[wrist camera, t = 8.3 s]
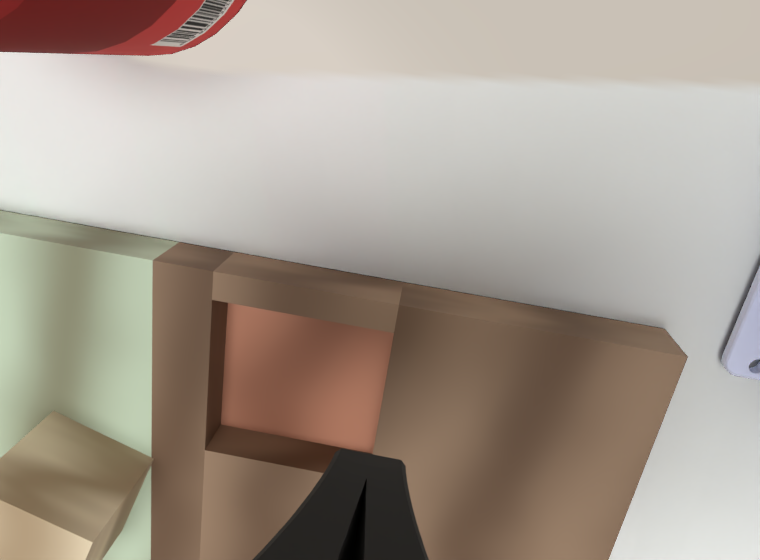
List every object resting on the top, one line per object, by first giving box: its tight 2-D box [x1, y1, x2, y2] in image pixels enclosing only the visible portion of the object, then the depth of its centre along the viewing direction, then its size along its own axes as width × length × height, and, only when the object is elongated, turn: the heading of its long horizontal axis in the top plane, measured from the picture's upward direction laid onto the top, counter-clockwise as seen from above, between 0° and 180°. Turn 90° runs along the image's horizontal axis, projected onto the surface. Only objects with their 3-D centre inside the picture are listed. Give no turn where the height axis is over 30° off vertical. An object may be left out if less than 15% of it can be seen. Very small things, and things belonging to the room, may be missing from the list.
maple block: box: [0, 411, 154, 560], centre depth 20 cm, size 4×4×4 cm
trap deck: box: [0, 210, 687, 560], centre depth 23 cm, size 24×22×2 cm
